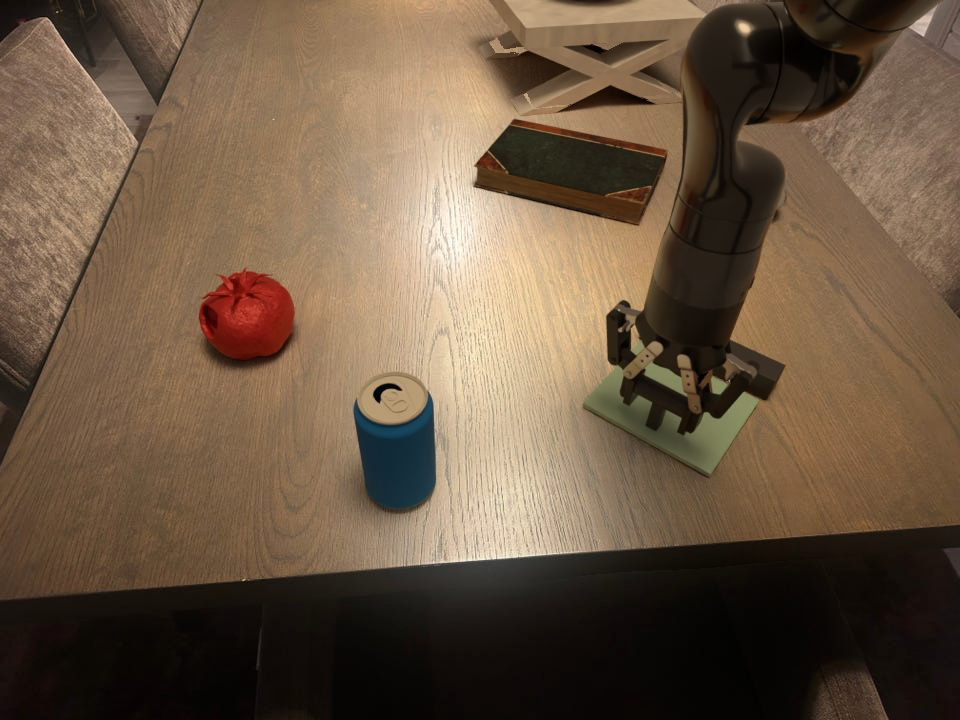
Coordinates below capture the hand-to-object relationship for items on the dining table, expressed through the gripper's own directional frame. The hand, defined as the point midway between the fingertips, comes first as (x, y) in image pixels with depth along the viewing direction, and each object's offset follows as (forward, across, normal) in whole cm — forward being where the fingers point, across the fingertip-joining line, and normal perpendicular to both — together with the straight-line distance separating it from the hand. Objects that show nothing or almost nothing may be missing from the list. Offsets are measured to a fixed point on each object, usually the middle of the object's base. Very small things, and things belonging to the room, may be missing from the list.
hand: (657, 413), depth 65 cm
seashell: (+3, -10, +48) cm, 49 cm away
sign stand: (+2, 0, +13) cm, 13 cm away
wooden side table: (+2, -54, +71) cm, 89 cm away
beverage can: (+3, -15, -20) cm, 26 cm away
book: (+3, -33, +36) cm, 49 cm away
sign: (+2, 0, +4) cm, 5 cm away
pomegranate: (+3, -41, -16) cm, 44 cm away
